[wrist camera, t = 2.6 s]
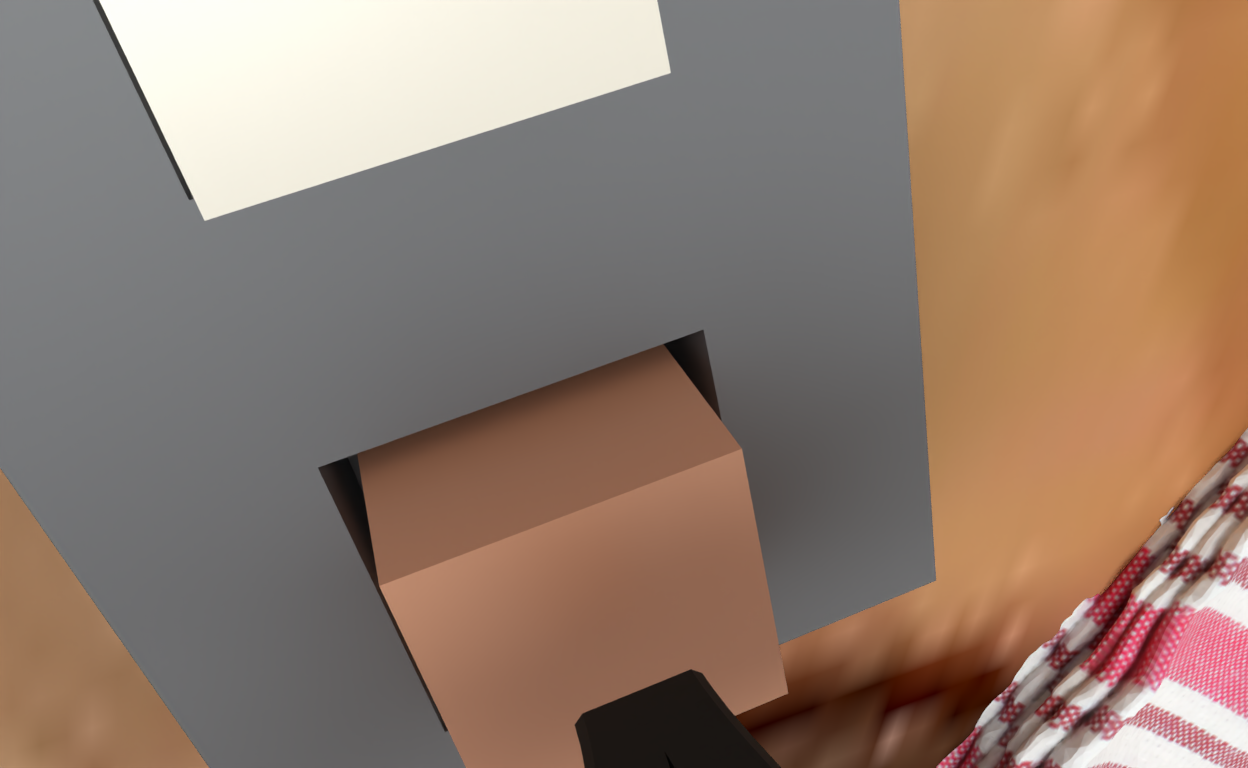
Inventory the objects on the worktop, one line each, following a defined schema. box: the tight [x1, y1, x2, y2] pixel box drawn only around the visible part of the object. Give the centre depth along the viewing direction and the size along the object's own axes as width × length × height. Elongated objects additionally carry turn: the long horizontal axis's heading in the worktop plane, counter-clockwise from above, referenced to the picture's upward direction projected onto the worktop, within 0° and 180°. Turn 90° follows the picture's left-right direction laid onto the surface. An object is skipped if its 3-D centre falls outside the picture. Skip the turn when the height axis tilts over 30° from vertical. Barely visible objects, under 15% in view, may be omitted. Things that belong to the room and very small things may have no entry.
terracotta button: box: [357, 344, 788, 768], centre depth 14 cm, size 4×4×3 cm
